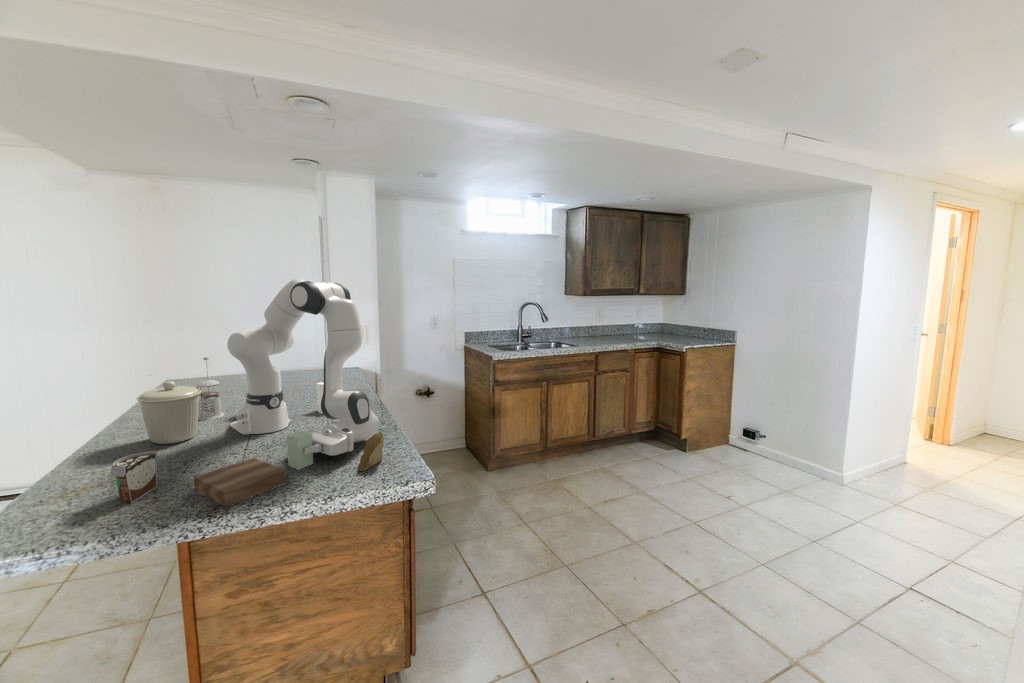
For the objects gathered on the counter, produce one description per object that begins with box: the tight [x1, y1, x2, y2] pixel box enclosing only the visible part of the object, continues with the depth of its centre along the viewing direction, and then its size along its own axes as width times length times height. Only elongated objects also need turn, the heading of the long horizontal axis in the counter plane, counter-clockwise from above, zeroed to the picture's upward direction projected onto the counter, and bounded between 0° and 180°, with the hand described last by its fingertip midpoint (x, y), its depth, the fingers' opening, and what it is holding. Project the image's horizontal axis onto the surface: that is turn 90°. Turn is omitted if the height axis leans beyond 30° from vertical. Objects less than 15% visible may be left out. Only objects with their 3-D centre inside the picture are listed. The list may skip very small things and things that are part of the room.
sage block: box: [286, 430, 314, 470], centre depth 139 cm, size 5×5×10 cm
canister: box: [136, 380, 202, 445], centre depth 158 cm, size 18×18×21 cm
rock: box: [357, 432, 385, 472], centre depth 141 cm, size 11×9×10 cm
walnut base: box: [193, 457, 287, 508], centre depth 124 cm, size 16×16×4 cm
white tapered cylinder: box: [316, 382, 324, 414], centre depth 197 cm, size 9×9×12 cm
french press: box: [195, 356, 225, 421], centre depth 185 cm, size 10×12×25 cm
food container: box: [110, 450, 159, 505], centre depth 118 cm, size 12×6×10 cm, turn 5°
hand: (297, 448), depth 138 cm, fingers closed on sage block, 5 cm apart
